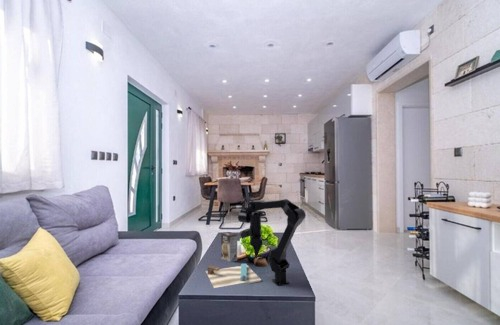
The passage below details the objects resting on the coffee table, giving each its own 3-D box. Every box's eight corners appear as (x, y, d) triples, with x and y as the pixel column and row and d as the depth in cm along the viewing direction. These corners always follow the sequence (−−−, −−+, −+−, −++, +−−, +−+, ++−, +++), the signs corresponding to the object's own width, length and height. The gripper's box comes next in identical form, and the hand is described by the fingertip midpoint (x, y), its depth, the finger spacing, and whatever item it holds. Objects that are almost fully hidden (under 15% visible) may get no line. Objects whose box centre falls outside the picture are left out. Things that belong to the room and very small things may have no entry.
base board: (261, 281, 128) (261, 279, 128) (214, 289, 120) (214, 287, 120) (247, 266, 148) (247, 265, 148) (205, 272, 139) (205, 271, 139)
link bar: (246, 280, 127) (246, 276, 127) (240, 280, 127) (240, 276, 127) (246, 266, 145) (246, 262, 145) (241, 266, 145) (241, 263, 145)
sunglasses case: (269, 266, 148) (263, 256, 147) (259, 272, 147) (253, 263, 147) (264, 255, 166) (259, 246, 165) (255, 261, 165) (250, 252, 165)
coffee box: (220, 259, 160) (220, 233, 161) (229, 256, 165) (228, 231, 165) (229, 262, 153) (229, 235, 154) (237, 260, 158) (237, 234, 158)
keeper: (219, 274, 135) (219, 267, 135) (216, 276, 133) (216, 269, 133) (210, 271, 138) (210, 265, 138) (207, 273, 136) (207, 267, 136)
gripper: (241, 220, 146) (241, 248, 146) (240, 228, 128) (240, 259, 127) (260, 220, 146) (260, 247, 146) (262, 227, 128) (262, 259, 127)
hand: (256, 253), depth 137 cm, fingers open, 9 cm apart
